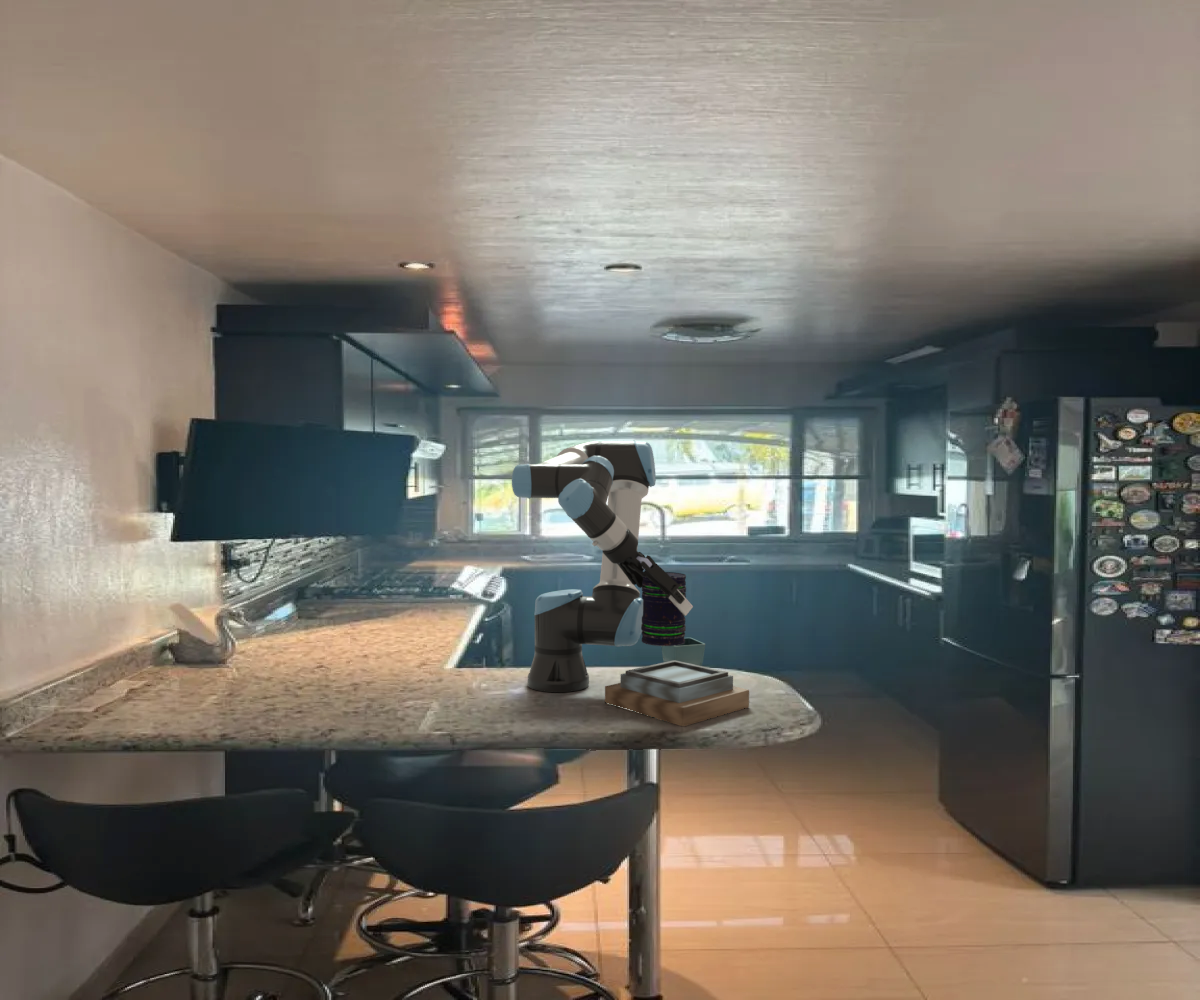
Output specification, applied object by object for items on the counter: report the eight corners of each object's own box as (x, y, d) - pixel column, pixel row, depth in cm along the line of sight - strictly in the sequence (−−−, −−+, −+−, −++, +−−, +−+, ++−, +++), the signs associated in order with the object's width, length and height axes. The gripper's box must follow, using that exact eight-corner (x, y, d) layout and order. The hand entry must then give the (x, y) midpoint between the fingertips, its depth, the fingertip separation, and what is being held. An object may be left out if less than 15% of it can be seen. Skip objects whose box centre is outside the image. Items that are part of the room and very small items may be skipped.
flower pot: (705, 678, 237) (706, 643, 236) (674, 681, 233) (675, 646, 233) (690, 670, 245) (690, 637, 244) (659, 673, 241) (660, 639, 241)
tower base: (604, 703, 212) (605, 669, 212) (670, 687, 227) (670, 655, 227) (683, 726, 195) (683, 689, 194) (748, 707, 210) (749, 673, 209)
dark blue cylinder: (632, 640, 208) (632, 573, 207) (665, 635, 214) (666, 570, 213) (660, 648, 200) (661, 579, 199) (694, 642, 206) (695, 575, 205)
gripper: (579, 547, 208) (639, 611, 217) (629, 558, 189) (693, 628, 197) (600, 523, 211) (659, 587, 219) (652, 531, 191) (714, 602, 199)
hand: (675, 607), depth 208 cm, fingers closed on dark blue cylinder, 10 cm apart
